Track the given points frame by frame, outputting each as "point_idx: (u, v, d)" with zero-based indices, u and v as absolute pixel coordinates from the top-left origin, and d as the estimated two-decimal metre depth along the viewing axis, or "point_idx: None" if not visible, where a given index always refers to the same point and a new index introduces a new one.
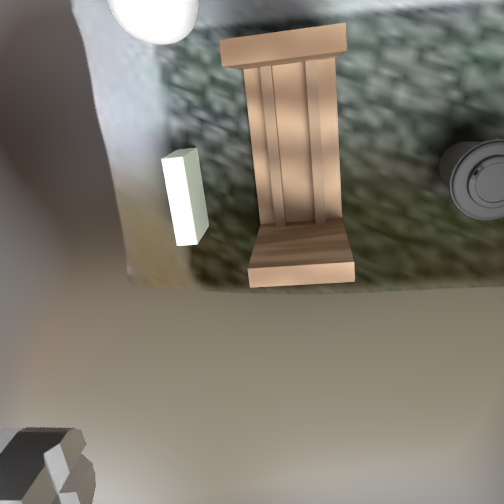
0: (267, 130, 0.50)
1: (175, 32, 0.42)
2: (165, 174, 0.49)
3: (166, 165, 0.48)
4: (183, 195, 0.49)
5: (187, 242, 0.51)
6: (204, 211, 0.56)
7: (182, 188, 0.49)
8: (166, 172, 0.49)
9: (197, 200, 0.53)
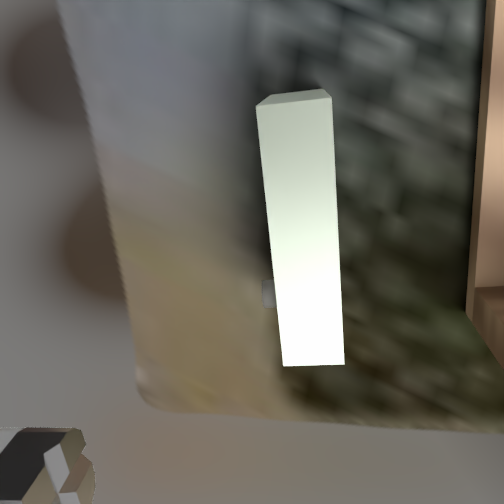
0: None
1: None
2: (265, 158, 0.15)
3: (272, 127, 0.15)
4: (319, 225, 0.16)
5: (315, 358, 0.18)
6: None
7: (318, 204, 0.15)
8: (270, 153, 0.15)
9: None
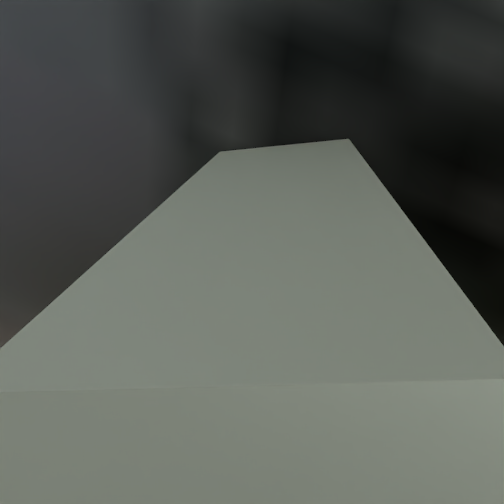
0: None
1: None
2: None
3: None
4: None
5: None
6: None
7: None
8: None
9: None
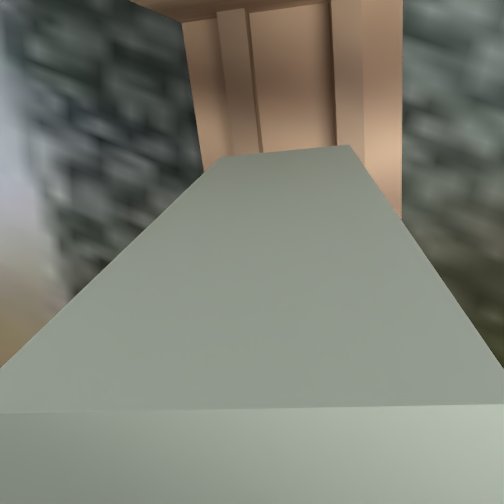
0: None
1: None
2: None
3: None
4: None
5: None
6: None
7: None
8: None
9: None
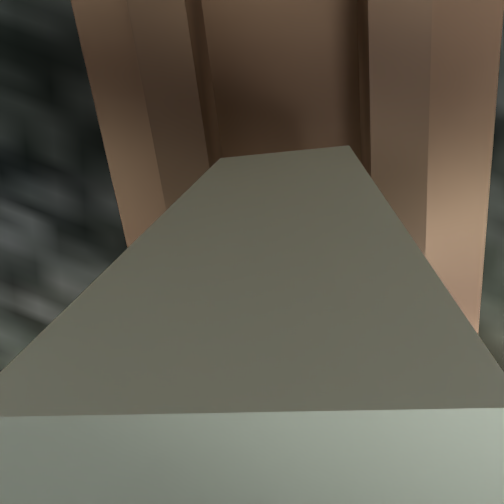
0: None
1: None
2: None
3: None
4: None
5: None
6: None
7: None
8: None
9: None
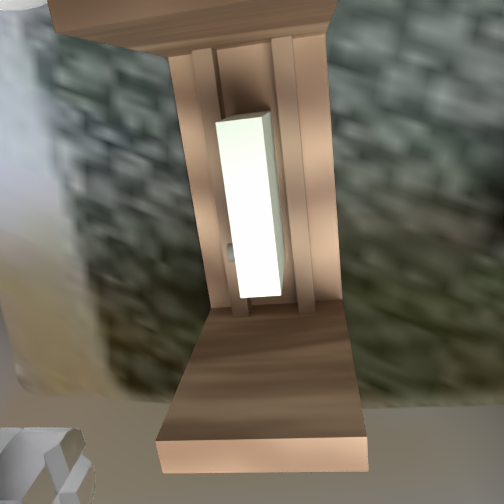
0: (211, 161, 0.29)
1: None
2: (223, 154, 0.24)
3: (226, 135, 0.23)
4: (259, 198, 0.24)
5: (261, 291, 0.26)
6: (281, 229, 0.31)
7: (257, 184, 0.24)
8: (225, 152, 0.23)
9: (276, 209, 0.28)
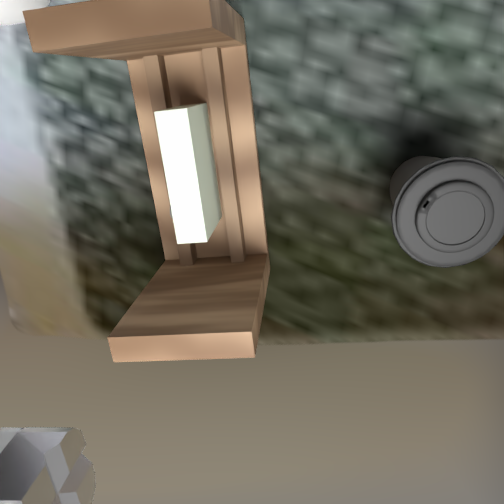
0: None
1: None
2: (160, 135, 0.32)
3: (162, 121, 0.32)
4: (187, 168, 0.33)
5: (192, 239, 0.35)
6: (216, 195, 0.39)
7: (186, 157, 0.33)
8: (162, 133, 0.32)
9: (207, 178, 0.36)
